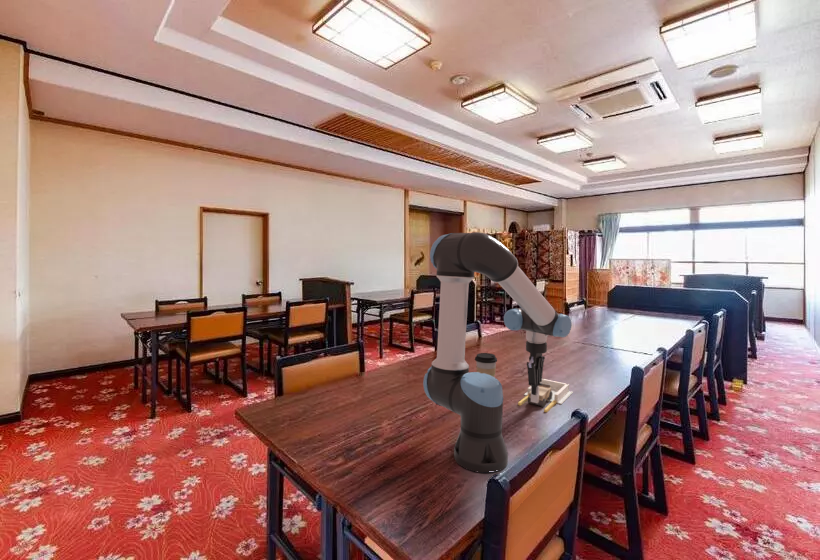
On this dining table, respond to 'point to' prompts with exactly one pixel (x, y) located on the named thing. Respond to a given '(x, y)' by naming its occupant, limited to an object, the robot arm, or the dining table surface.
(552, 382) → the dock
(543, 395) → the two-tone toy block
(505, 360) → the dining table surface
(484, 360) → the coffee cup
